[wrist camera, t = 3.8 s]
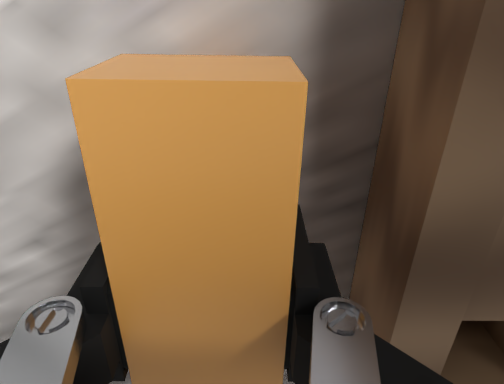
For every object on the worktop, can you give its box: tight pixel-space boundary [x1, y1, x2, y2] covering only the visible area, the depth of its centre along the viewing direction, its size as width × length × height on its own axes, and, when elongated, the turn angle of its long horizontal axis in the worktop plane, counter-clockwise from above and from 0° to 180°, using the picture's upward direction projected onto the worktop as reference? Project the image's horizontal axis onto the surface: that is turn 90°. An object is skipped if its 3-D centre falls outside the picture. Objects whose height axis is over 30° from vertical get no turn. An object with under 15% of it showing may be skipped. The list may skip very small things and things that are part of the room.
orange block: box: [65, 54, 308, 384], centre depth 12 cm, size 12×4×7 cm, turn 179°
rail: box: [349, 0, 504, 384], centre depth 13 cm, size 24×8×4 cm, turn 179°
